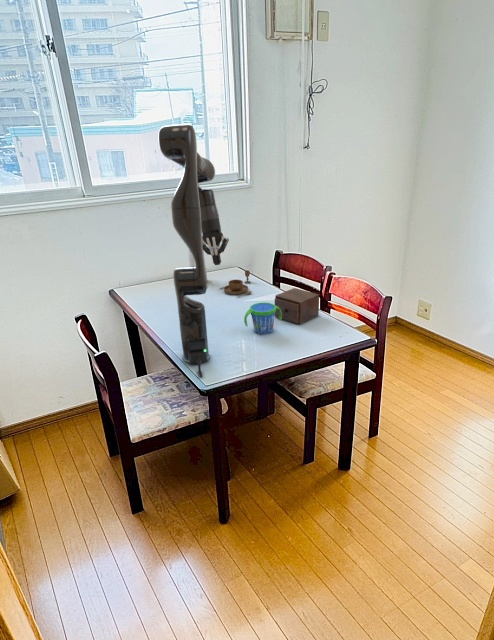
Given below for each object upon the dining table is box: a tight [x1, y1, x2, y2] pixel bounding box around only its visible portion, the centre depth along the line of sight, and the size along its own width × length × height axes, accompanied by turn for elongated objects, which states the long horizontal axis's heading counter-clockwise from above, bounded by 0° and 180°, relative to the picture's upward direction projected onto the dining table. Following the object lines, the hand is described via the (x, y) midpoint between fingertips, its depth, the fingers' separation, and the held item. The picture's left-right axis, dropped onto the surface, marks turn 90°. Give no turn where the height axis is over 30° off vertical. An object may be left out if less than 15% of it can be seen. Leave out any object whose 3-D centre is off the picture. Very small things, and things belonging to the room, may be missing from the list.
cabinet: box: [274, 287, 320, 325], centre depth 211 cm, size 13×14×10 cm
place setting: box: [219, 270, 252, 298], centre depth 244 cm, size 18×20×6 cm
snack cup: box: [243, 302, 283, 335], centre depth 198 cm, size 16×10×10 cm
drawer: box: [274, 298, 299, 324], centre depth 210 cm, size 13×12×8 cm
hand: (217, 264), depth 196 cm, fingers closed
